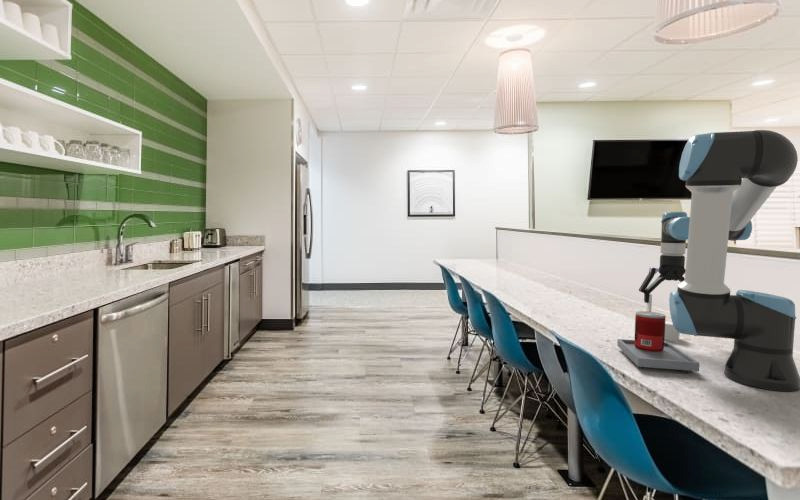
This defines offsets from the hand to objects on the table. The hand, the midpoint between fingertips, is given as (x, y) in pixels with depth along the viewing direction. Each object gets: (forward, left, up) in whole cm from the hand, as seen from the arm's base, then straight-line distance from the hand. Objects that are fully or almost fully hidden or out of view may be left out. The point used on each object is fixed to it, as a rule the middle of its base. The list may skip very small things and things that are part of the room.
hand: (669, 312), depth 150 cm
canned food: (-11, +28, -7) cm, 31 cm away
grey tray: (-14, +31, -9) cm, 36 cm away
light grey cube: (0, 0, -10) cm, 10 cm away
